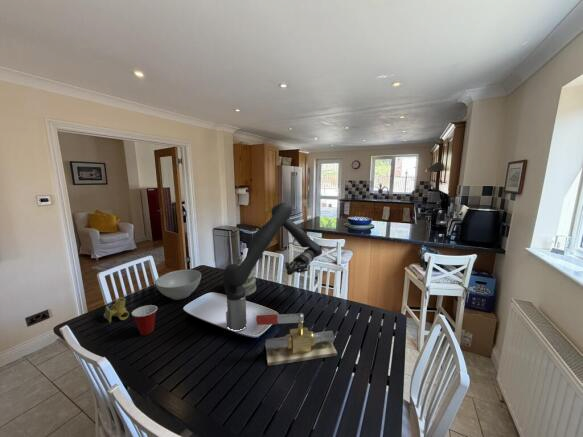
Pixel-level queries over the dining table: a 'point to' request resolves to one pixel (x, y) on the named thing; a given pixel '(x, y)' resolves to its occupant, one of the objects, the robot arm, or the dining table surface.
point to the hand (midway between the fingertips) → (288, 272)
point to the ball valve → (117, 310)
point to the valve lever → (279, 319)
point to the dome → (248, 281)
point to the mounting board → (287, 356)
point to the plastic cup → (145, 318)
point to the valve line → (299, 340)
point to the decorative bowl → (178, 283)
